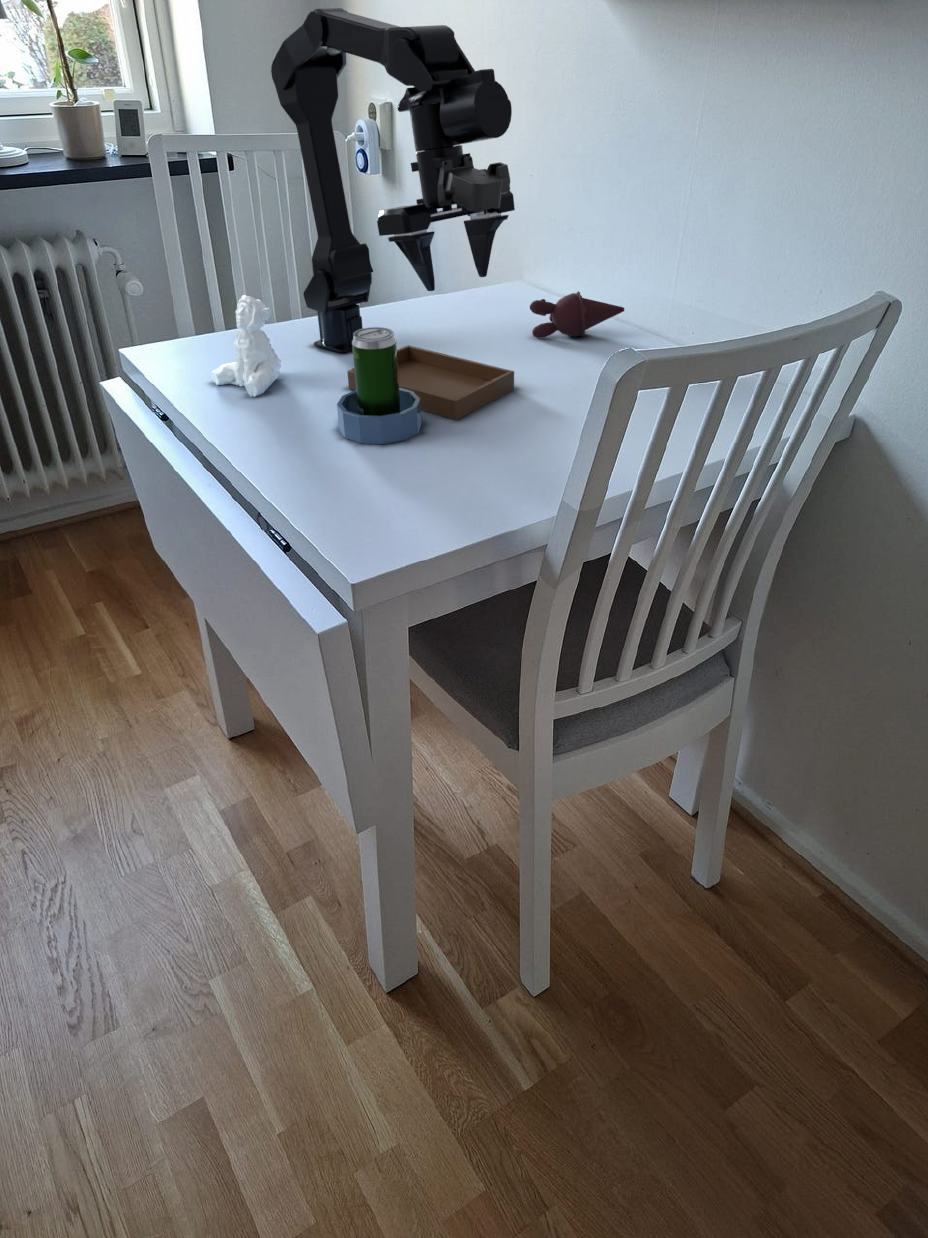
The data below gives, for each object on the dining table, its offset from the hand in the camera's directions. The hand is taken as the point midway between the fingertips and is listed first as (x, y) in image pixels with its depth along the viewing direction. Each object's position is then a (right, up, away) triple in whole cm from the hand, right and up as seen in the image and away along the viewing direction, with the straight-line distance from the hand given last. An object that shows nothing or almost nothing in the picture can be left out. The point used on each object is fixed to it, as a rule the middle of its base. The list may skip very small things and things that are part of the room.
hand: (457, 283), depth 113 cm
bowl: (-10, -19, -2) cm, 22 cm away
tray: (-4, -11, +9) cm, 15 cm away
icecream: (+19, +2, +27) cm, 33 cm away
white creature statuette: (-29, -10, +12) cm, 33 cm away
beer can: (-10, -19, -1) cm, 22 cm away
